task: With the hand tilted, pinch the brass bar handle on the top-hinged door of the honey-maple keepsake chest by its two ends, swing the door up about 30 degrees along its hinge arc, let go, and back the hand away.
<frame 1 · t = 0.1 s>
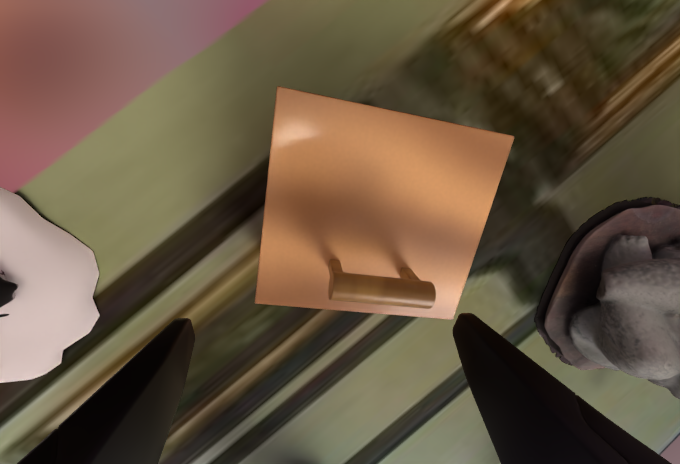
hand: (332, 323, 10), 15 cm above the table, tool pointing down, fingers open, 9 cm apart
angel statue: (614, 282, 31), on the table
lid: (386, 230, 17), point 8 cm above the table, hinge at 0.0°
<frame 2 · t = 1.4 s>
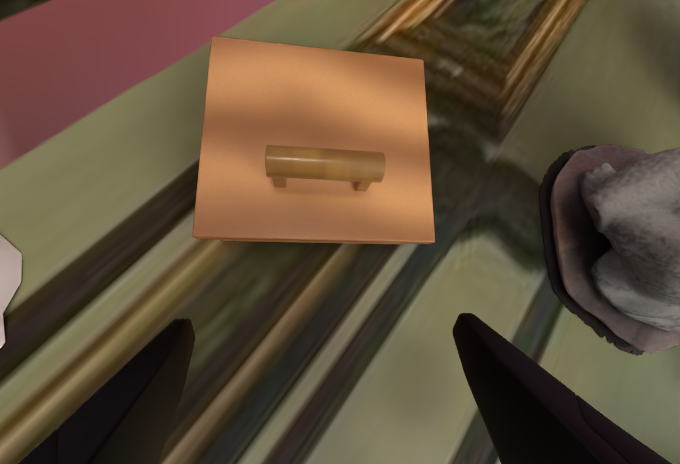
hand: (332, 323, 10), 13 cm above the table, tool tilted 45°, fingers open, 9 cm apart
angel statue: (616, 235, 28), on the table
lid: (323, 124, 17), point 8 cm above the table, hinge at 0.0°
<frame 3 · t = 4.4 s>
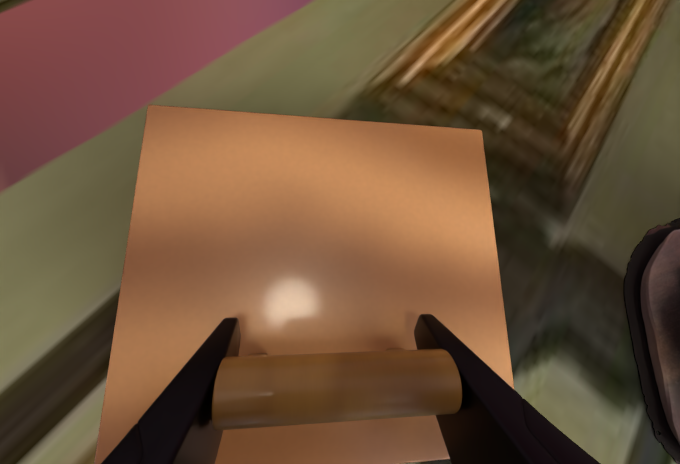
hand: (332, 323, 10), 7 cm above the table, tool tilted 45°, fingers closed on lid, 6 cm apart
lid: (332, 268, 10), point 8 cm above the table, hinge at 0.0°, touching gripper
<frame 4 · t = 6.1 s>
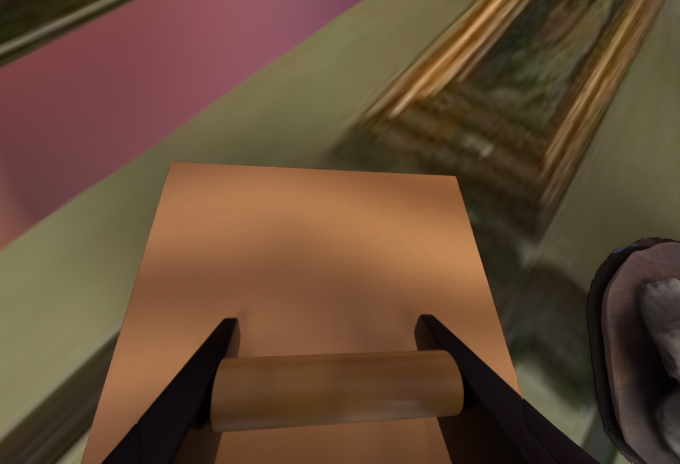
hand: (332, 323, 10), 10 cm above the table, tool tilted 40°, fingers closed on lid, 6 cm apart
angel statue: (677, 353, 23), on the table
lid: (330, 285, 10), point 10 cm above the table, hinge at 18.8°, touching gripper
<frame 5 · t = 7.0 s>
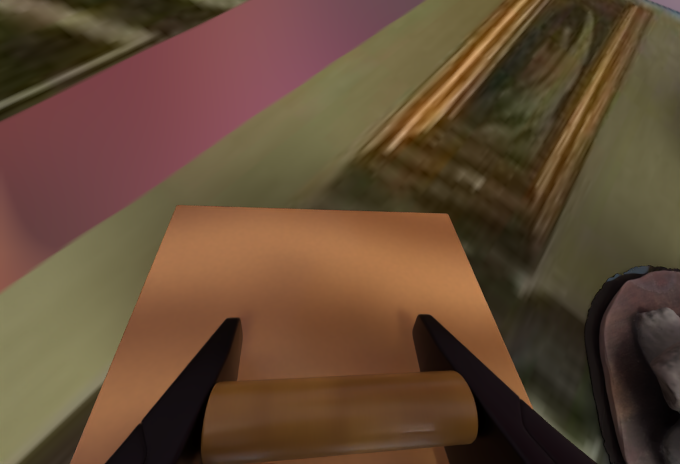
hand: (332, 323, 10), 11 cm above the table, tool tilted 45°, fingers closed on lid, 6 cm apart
angel statue: (678, 382, 23), on the table
lid: (330, 314, 10), point 11 cm above the table, hinge at 26.8°, touching gripper
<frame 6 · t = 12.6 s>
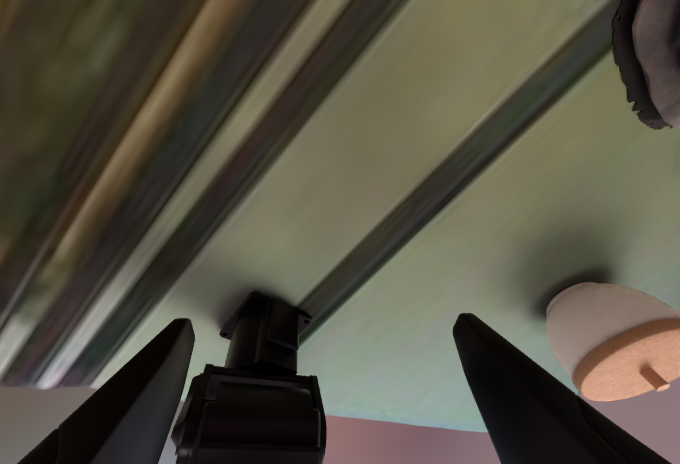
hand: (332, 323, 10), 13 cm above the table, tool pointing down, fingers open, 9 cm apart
trinket box: (572, 301, 32), on the table
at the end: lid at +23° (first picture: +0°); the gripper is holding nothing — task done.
